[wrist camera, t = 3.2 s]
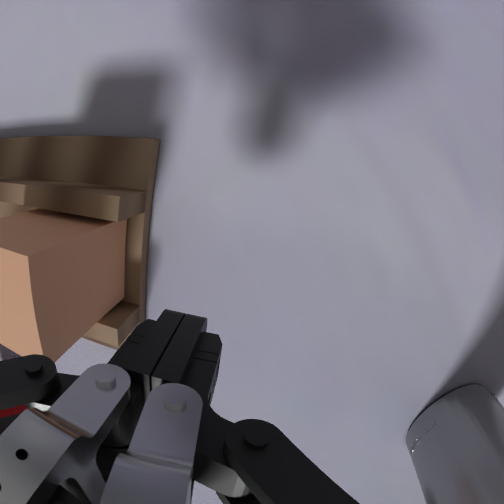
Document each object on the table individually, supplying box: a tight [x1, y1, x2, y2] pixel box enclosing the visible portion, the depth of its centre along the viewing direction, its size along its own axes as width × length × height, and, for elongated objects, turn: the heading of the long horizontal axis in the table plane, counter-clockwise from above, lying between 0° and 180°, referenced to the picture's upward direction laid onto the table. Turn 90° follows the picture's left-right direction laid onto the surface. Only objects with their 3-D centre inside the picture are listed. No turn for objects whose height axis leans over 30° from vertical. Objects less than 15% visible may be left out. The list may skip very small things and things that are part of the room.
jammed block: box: [0, 208, 127, 363], centre depth 13 cm, size 6×5×8 cm
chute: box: [0, 136, 160, 350], centre depth 16 cm, size 20×14×4 cm
